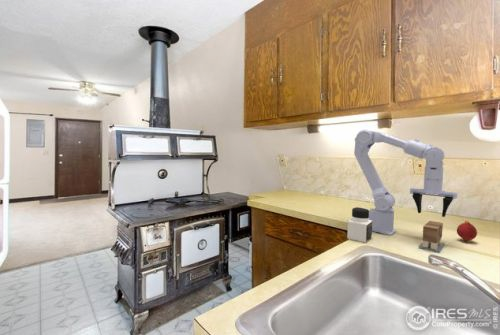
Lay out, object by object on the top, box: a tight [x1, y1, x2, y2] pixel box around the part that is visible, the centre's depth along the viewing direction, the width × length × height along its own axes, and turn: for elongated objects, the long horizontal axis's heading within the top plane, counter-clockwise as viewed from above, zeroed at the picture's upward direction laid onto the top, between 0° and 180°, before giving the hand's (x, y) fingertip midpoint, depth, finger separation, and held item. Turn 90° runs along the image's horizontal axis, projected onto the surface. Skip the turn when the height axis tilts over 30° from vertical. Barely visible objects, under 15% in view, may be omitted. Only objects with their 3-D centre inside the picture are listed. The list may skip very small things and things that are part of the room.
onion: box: [456, 220, 478, 242], centre depth 95 cm, size 6×6×8 cm
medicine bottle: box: [347, 206, 373, 244], centre depth 98 cm, size 7×7×12 cm
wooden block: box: [422, 220, 444, 244], centre depth 90 cm, size 10×4×5 cm, turn 134°
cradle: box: [418, 237, 446, 254], centre depth 90 cm, size 10×6×3 cm, turn 134°
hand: (431, 214), depth 96 cm, fingers open, 7 cm apart
